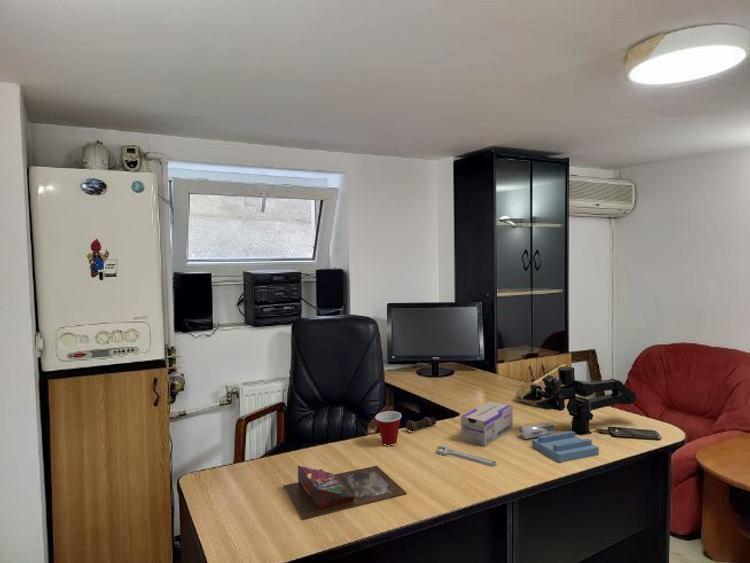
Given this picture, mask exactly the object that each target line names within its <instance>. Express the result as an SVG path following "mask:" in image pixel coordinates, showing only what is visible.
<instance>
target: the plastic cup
mask: <svg viewBox="0 0 750 563" xmlns="http://www.w3.org/2000/svg"><path fill="white" fill-rule="evenodd" d="M374 418H375V419H376V421H377V422H376V423H377V425H378V429H379V434H380V439H381V443H382V445H383V444H386V445H391V444H395V443H396V444H397V443H398V436H399V429H400V423H401V419H402V414H401V412H398V411H396V410H395V411H394V410H387V411H382V412H379V413H377V414H376V415H375V417H374Z"/></svg>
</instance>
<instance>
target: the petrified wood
mask: <svg viewBox="0 0 750 563" xmlns="http://www.w3.org/2000/svg"><path fill="white" fill-rule="evenodd" d="M533 384H536V385H538V386H540V387H541V388H542V391H545V390H544V387H546V386H545V384H544V385H542V384H539V383H535V382H531V381H526V382H525V383H521V384H520V385H519V386H517V391H516V392H515V399H516V400H518V401H520V402H522V403H525V404H527V405H531V406H533V407H534V406H535V407H537V408H538V407H539V408H543V409H544V408H545V407H540V406H537V403H538V402H540V401H543V400H545V398H544V397H542V399H541V400H539V401H531V400H524V399H523V396H525V395H526V394H527V393H529V392H530V391H531V385H533ZM545 409H546V408H545Z"/></svg>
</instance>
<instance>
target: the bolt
mask: <svg viewBox="0 0 750 563" xmlns="http://www.w3.org/2000/svg"><path fill="white" fill-rule="evenodd" d="M434 424H435V425H436V424H437V420H436V418H435V417H429V416H425V417H423V419H421V420H417V421H413V420H411V419H409V420H407V421H406V423H405V429H408V430H410V431H412V432H413V431H415V432H416V430H419V429H422V428H426V427H430V428H431V427H432V426H434Z"/></svg>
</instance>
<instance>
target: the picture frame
mask: <svg viewBox="0 0 750 563" xmlns="http://www.w3.org/2000/svg"><path fill="white" fill-rule="evenodd" d="M309 474H310V475H311V476H310V478H309V477H308V475H309ZM297 480H298V481H297V482H292V483H288V484H284V485H283V489H284V490H285V492H286V493H287V496H288V497H289V499H290V501H291V503H292V504H293V506H294V509H295V510H296V512H297V514H298V515H299V517H300V519H301V521H304V520H305V521H306V520H310V519H313V518H318V517H322V516H325V515H329V514H333V513H339V512H342V511H345V510H350V509H354V508H357V507H361V506H365V505H368V504H373V503H377V502H381V501H385V500H389V499H394V498H398V497H402V496H406V495H408V492H407V491H405V489H403V487H401V486H400V485H399V484H398V483H397V482H396V481H395V480H393V479H392V478H391V477H390V476H389V475H388V474H387V473H386V472H385V471H384V470H382V468H380V467H379V466H378V465H373V466H368V467H364V468H359V469H355V470H354V469H353V470H349V471H344V472H341V473H340V472H339V473H335V474H334V473H332V472H328V471H325V470H324V469H322V468H320V469H317V468H316V469H315V468H311V467H305V466H303V465H302V466H301V465H297Z"/></svg>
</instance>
